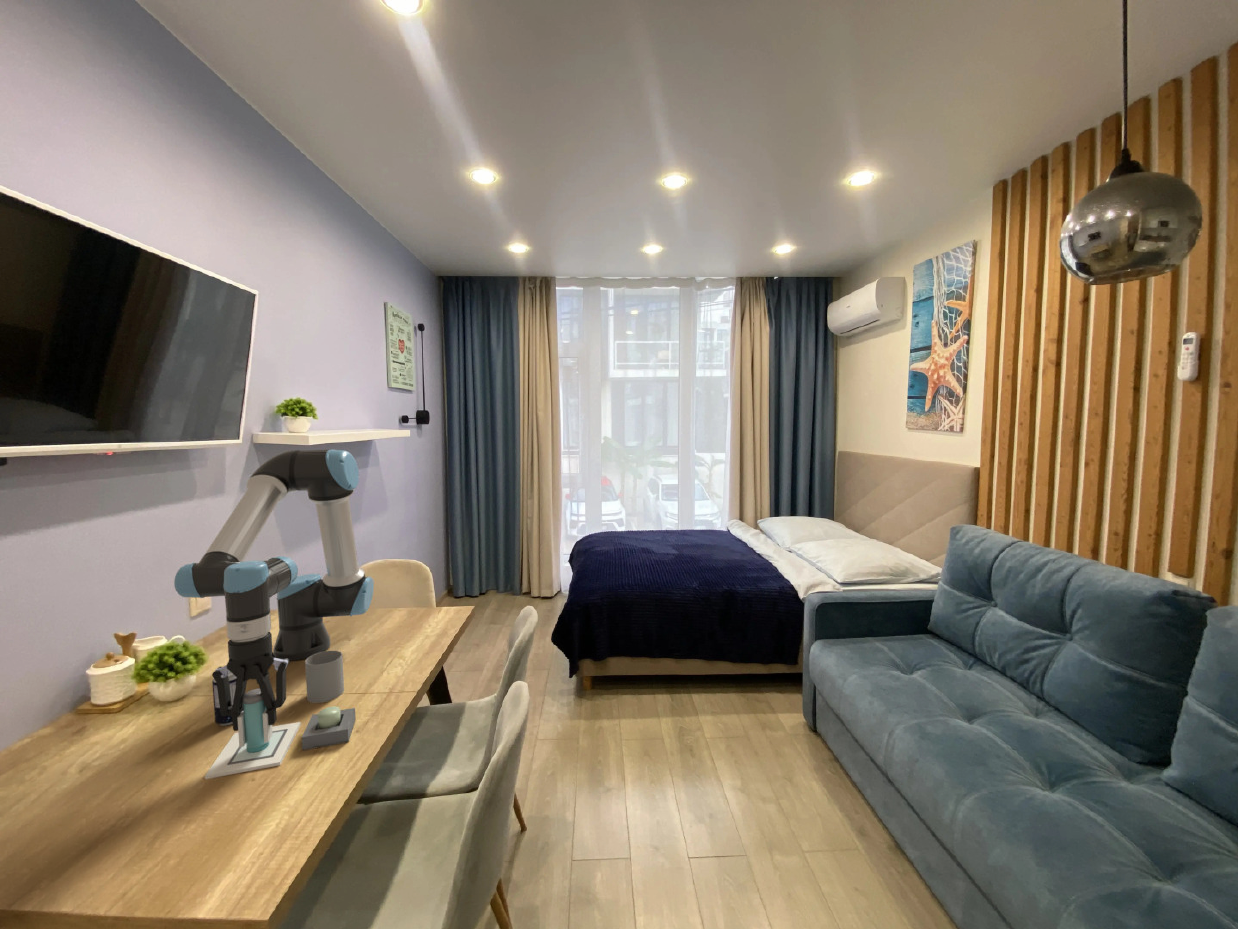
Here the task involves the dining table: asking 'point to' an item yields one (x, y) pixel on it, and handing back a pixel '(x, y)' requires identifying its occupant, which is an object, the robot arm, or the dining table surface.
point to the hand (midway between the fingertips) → (256, 740)
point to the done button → (329, 717)
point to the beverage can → (218, 718)
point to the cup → (324, 676)
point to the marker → (254, 720)
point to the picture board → (243, 761)
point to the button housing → (328, 731)
